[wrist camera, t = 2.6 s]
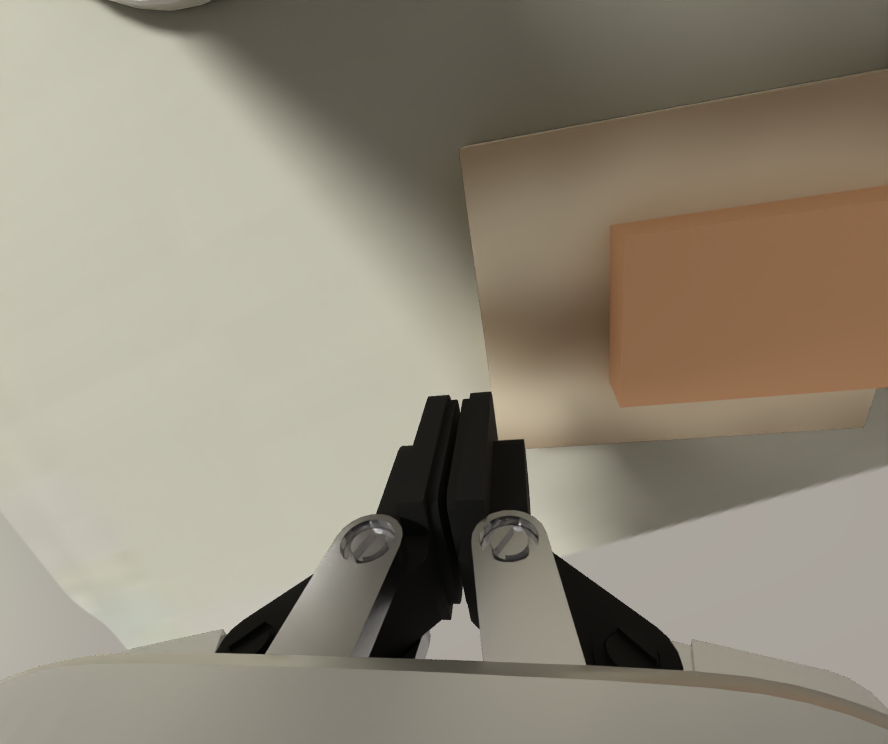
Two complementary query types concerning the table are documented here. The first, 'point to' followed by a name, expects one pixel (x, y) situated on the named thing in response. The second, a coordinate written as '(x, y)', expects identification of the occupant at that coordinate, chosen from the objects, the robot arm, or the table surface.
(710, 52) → the table surface
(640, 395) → the tile
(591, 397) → the plate
